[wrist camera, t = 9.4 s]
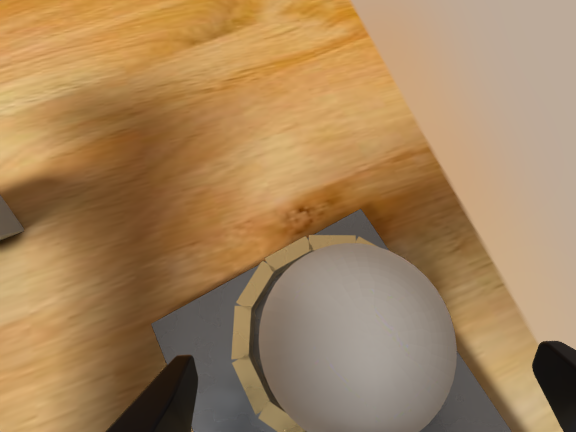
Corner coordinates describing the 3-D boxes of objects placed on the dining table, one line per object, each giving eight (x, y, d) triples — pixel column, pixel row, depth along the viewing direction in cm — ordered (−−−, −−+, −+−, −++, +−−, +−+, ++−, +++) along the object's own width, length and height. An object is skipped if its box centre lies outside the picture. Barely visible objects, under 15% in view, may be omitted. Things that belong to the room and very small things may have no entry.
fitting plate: (548, 499, 16) (592, 528, 13) (303, 683, 14) (303, 753, 12) (358, 214, 21) (365, 198, 18) (158, 324, 19) (138, 322, 16)
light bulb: (313, 259, 19) (328, 178, 9) (411, 320, 18) (541, 298, 8) (251, 355, 17) (193, 374, 8) (353, 430, 16) (432, 561, 7)
